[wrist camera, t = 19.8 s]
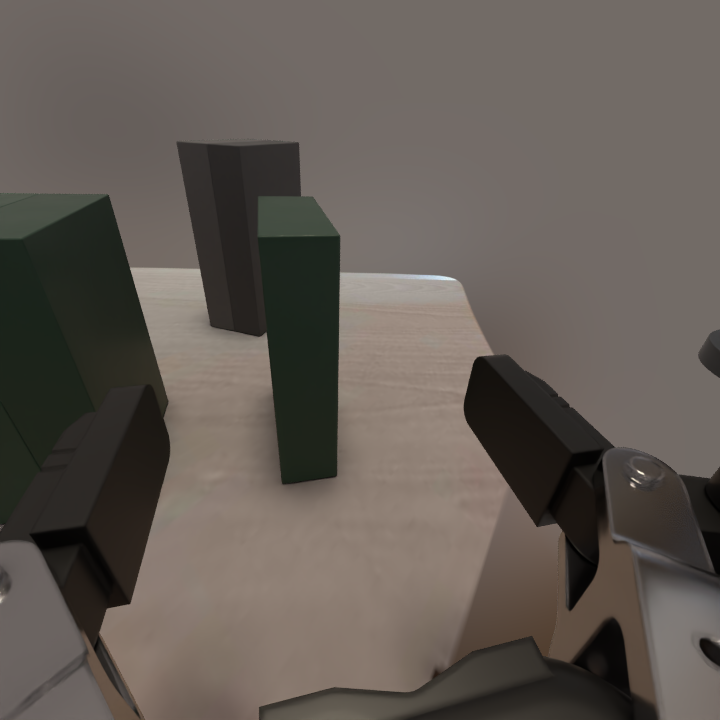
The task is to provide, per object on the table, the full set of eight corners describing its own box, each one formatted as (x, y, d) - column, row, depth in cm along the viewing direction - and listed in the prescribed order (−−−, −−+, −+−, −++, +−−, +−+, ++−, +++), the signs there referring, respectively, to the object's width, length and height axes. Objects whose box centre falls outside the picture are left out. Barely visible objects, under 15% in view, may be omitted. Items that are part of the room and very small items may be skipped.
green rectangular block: (168, 401, 28) (108, 194, 20) (135, 505, 20) (21, 238, 13) (69, 410, 26) (-35, 192, 19) (-6, 525, 19) (-226, 241, 11)
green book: (317, 387, 30) (313, 196, 22) (337, 476, 22) (340, 234, 15) (276, 391, 29) (257, 195, 22) (282, 484, 22) (257, 235, 14)
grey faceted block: (305, 299, 44) (299, 142, 36) (260, 336, 36) (238, 145, 28) (262, 291, 46) (247, 138, 37) (210, 326, 38) (175, 140, 29)
